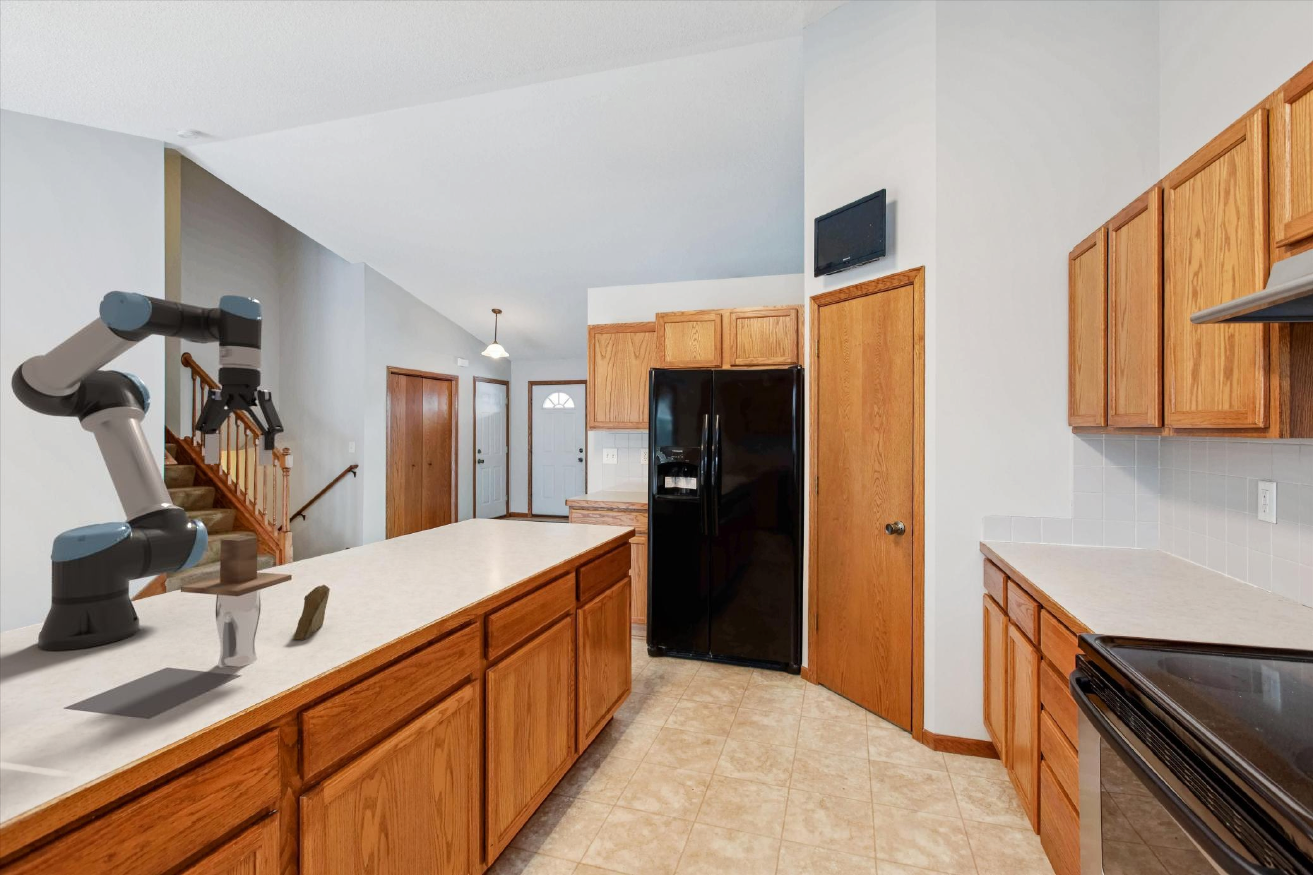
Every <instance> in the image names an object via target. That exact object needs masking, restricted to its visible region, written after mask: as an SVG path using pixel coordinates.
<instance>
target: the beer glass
mask: <svg viewBox="0 0 1313 875" xmlns="http://www.w3.org/2000/svg"><path fill="white" fill-rule="evenodd" d="M215 598H216V599H215V612H214V613H215V622H216V628H217V635H218V639H219V643H220V647H219V648H220V653H219V659H218V662H217V667H218V668H221V669H237V668H241V667H247V666H248V665H251V664H254V663H255V662H256V661H257V659H258V657H257V653H256V643H255V642H256V635H257V633H258V632H257V631H258V627H259V623H260V622H259V621H260V617H261V606H262V599H261V598H262V597H261V589H260V590H257V591H254V592H251V593H247V594H244V595H241V596H225V595H216V597H215Z"/></svg>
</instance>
